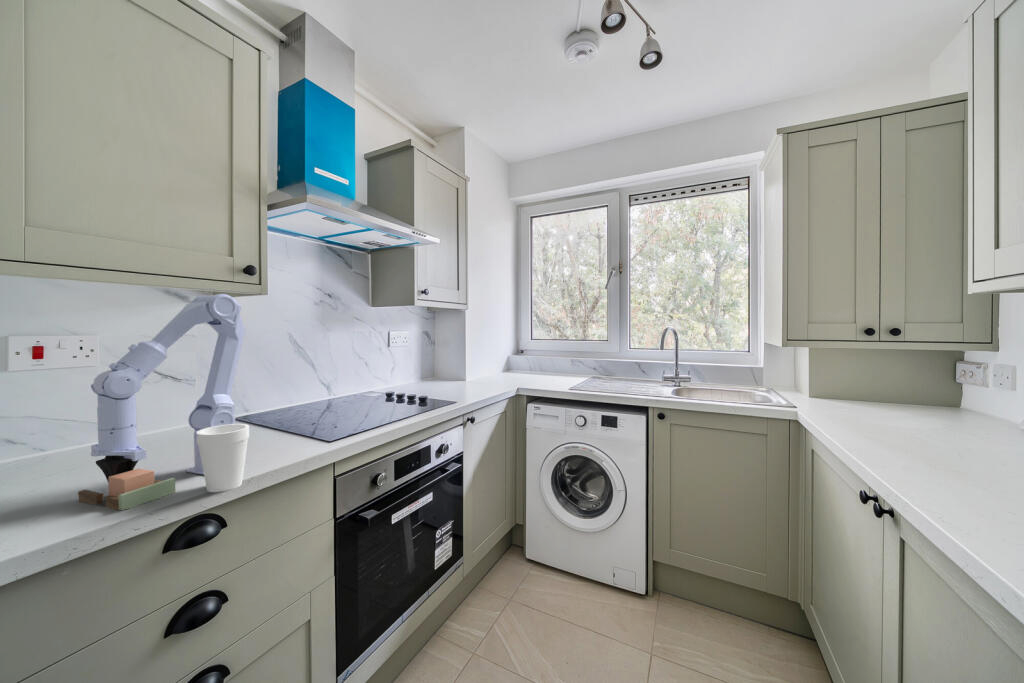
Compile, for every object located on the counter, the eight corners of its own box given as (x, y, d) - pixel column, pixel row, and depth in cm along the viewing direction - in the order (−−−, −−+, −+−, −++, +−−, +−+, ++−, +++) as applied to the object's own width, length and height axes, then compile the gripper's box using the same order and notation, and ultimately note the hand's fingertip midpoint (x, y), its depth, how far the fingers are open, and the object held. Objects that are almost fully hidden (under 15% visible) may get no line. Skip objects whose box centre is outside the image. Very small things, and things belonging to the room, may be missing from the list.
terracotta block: (139, 491, 83) (138, 468, 83) (154, 494, 81) (154, 471, 81) (109, 500, 78) (108, 476, 78) (125, 504, 76) (124, 479, 76)
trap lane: (133, 484, 86) (133, 471, 86) (175, 492, 82) (175, 478, 82) (78, 501, 78) (78, 486, 78) (122, 510, 74) (121, 495, 74)
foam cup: (259, 478, 90) (258, 423, 90) (231, 495, 81) (230, 434, 80) (218, 478, 90) (217, 424, 89) (186, 495, 80) (184, 434, 80)
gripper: (70, 428, 79) (72, 493, 79) (114, 434, 74) (116, 502, 75) (115, 421, 86) (116, 480, 86) (157, 426, 81) (159, 488, 81)
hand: (119, 490), depth 81 cm, fingers closed
